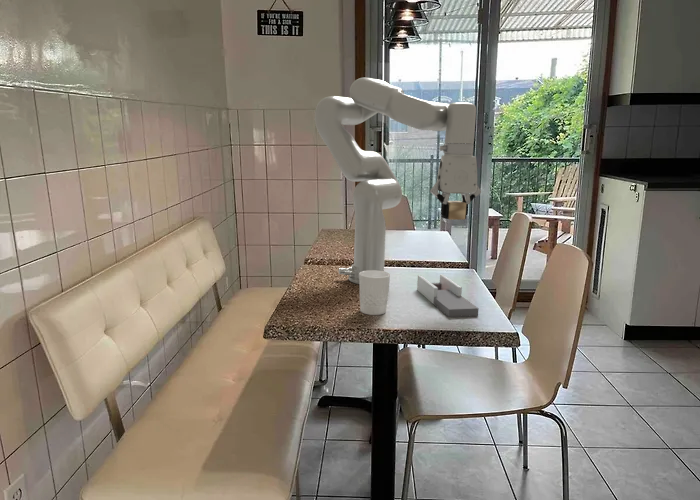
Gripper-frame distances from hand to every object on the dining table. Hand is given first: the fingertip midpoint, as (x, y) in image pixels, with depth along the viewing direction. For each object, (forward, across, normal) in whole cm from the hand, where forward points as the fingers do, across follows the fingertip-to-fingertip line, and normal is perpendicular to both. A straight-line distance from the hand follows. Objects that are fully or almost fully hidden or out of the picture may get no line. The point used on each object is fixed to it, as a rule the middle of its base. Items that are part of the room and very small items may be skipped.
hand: (453, 217), depth 147 cm
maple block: (0, 0, 0) cm, 0 cm away
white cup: (+24, -24, -8) cm, 35 cm away
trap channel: (+23, -2, -3) cm, 24 cm away
